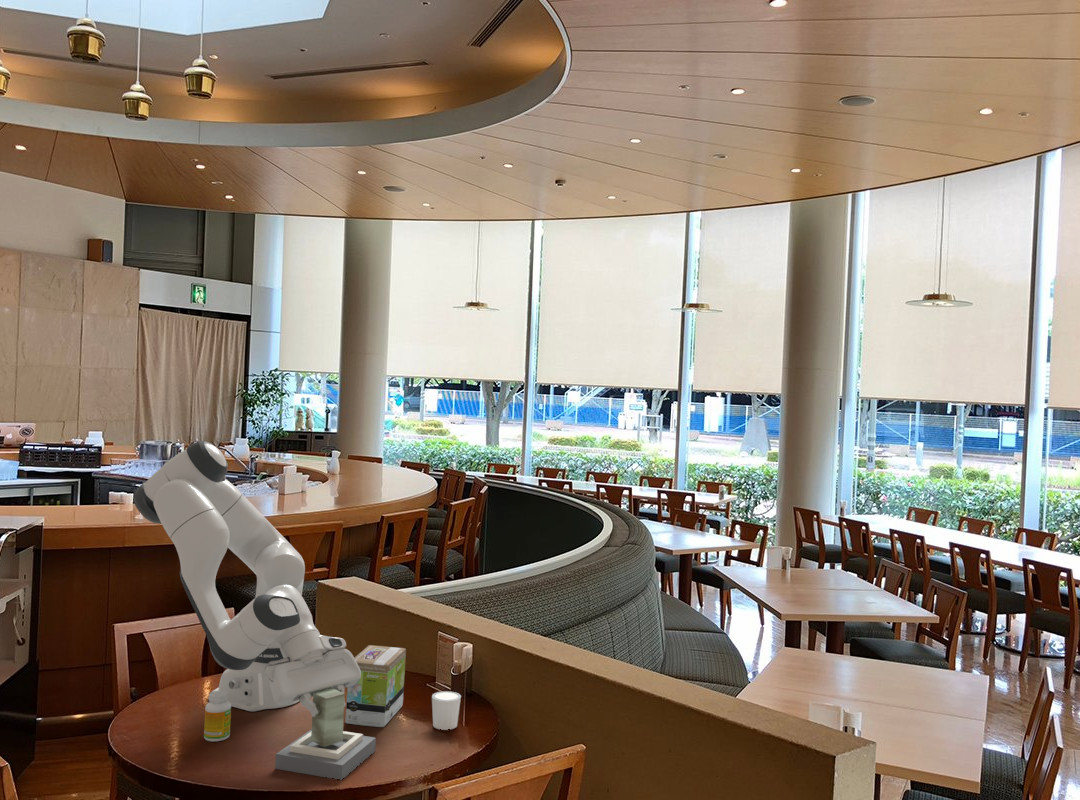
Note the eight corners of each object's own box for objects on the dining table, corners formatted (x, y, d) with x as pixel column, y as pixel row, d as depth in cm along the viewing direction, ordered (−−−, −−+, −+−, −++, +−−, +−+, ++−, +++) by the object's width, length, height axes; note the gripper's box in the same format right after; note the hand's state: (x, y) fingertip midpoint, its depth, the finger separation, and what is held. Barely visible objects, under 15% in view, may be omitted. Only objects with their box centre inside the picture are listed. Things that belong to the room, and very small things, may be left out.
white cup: (454, 732, 200) (456, 702, 200) (426, 728, 201) (427, 698, 201) (463, 721, 206) (464, 692, 206) (435, 718, 208) (437, 689, 208)
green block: (311, 740, 182) (313, 692, 182) (329, 734, 185) (331, 688, 185) (323, 747, 179) (326, 698, 179) (342, 741, 182) (344, 693, 182)
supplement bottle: (227, 741, 189) (229, 697, 189) (201, 742, 188) (203, 697, 188) (231, 732, 194) (233, 689, 194) (206, 732, 193) (208, 689, 193)
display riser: (275, 768, 177) (275, 748, 177) (313, 741, 191) (313, 722, 191) (341, 780, 173) (342, 759, 173) (375, 751, 187) (376, 732, 187)
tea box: (386, 728, 200) (388, 664, 200) (344, 724, 202) (346, 661, 202) (404, 706, 215) (406, 646, 215) (365, 702, 217) (367, 643, 217)
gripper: (268, 655, 179) (292, 715, 172) (350, 637, 194) (375, 692, 188) (255, 671, 182) (279, 731, 175) (337, 652, 197) (362, 707, 190)
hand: (329, 711), depth 181 cm, fingers closed on green block, 5 cm apart
